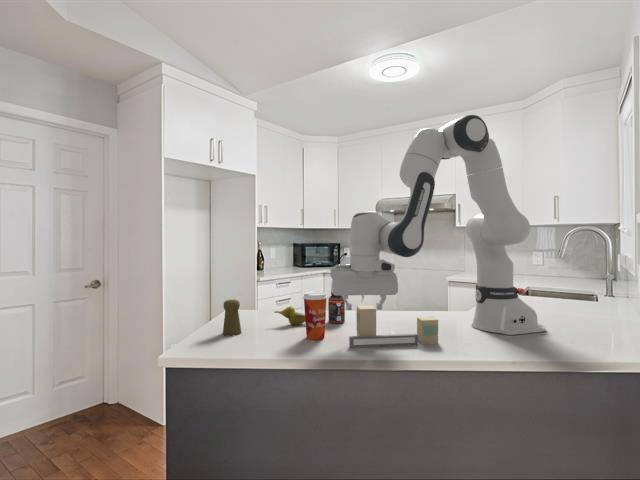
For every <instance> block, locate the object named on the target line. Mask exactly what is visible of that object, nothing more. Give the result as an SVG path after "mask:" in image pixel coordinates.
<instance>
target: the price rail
mask: <svg viewBox="0 0 640 480" xmlns="http://www.w3.org/2000/svg"><path fill="white" fill-rule="evenodd" d="M348 338H349V339H348V341H349V348H350V349H353V348H354V349H355V348H357V349H358V348H378V347H379V346H380V347H381V346H385V347H406V346H405V345H411V346H418V345H419V341H418V335H417V333H403V334H402V333H401V334H378V335H377V334H376V335H370V336H357V335H352V336H351V335H350V336H349V337H348ZM380 347H379V348H380Z"/></svg>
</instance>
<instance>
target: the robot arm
mask: <svg viewBox="0 0 640 480" xmlns="http://www.w3.org/2000/svg"><path fill="white" fill-rule="evenodd" d="M457 157H461V159H462V160H463V162H464V164H465V173H466V177H467V184H468V189H469V192H470V193H469V194H470V197H471V200H473V201H474V202H475V203H476V205H477V206H478V208H479V210H480V213H478V214H475V215H473V216H471V217H470V218H469V219H468V220H467V222H466V225H465V233H466V235H467V237H468V239H470V241H471V245H472V247H473V250H474V255H475V259H476V285H475V301H476V302H475V310H474V316H473V318H472V322H471V326H472V328H475V329H477V330H480V331H484V332H485V331H486V332H489V333H491V332H492V333H497V334H498V333H499V334H502V335H506V336H507V335H508V336H514V335H524V334H532V333H541V332H546V331H547V328H546V326H544V325H542V324H541V323H539V321H538V314H537V312H536V310H535V309H534V308H532V307H531V306H530V305H528V304H527V303H526V302H525V301H523V300H522V299H521V298H520V297H519V295H522V296H524V295H525V293H526V290H525V289H524V288H520V287H515V286H514V263H513V261H512V259H511V258H510V257H509V255H508V253H507V250H506V248H505V246H512V245H517V244H521V243H523V242H525V241H526V239H527V238H528V237H529V235H530V232H531V231H530V230H531V224H530V221H529V219H528V218H527V217H526V216H525V215H524V214H522V213H521V212H520V211H519V210H518V208H517V206H516V205H515V203H514V201H513V199H512V198H511V196H510V193H509V190H508V187H507V183H506V177H505V174H504V172H505V171H504V167H503V163H502V158H501V156H500V153H499V149H498V147H497V145H496V142H495V141H494V139H493V138H490V133H489V129H488V126H487V125H486V122H485V121H484V120H483V118H482V117H480V116H479V115H476V114H468V115H463V116H461V117H459V118H456V119H455V120H451V121H450V122H448V123H446V124H445V125H444V126H442V127H440V128H438V129H436V128H432V127H425V128H422V129H419V131H418V132H417V133H416V134H415V136H414V137H413V139H412V141H410V144H409V145H408V148H407V149H406V152H405V155H404V157H403V159H402V162H401V164H400V169H399V178H400V180H401V181H402V183H403V185H404V186H405V187H407V188H409V190H410V195H409V197H408V198H409V199H408V202H407V206H406V209H405V211H404V215H403V217H402V219H401V220H399V221H398V222H397V221H396V222H395V221H392V220H389V219H387V218H385V217H383V216H382V215H381V214H379V213H378V212H377V211H376V210H368V211H362V212H358V213H356V214H354V215H353V216H352V217H351V222H350V231H349V234H350V238H349V241H350V243H351V249H350V252H349V253H350V254H349V259H350V260H349V264H335V265H334V266H332V267H331V268H330V277H331V279H332V280H331V285H330V287H331V289H330V291H331V292H332V293H333V294H334V295H335V296H343V299H344V301H345V311H352V310H353V304H352V303H351V302H348V299H349V296H379V298H380V300H379V302H376V303H375V305H376V307H375V308H376V311H377V310H379V311H381V310H383V305H384V303H385V302H386V300H387V296H394V295H397V294H398V292H399V282H398V277H397V273H395V272H394V271H395V268H396V265H395V264H394V263H392V262H389V261H386V260H385V259H380V253H381V252H383V253H386V254H392V255H397V256H400V257H403V258H410V257H411V258H412V257H413V256H415V255H417V254H418V253H419V252H420V251H421V249H422V247H423V245H424V240H425V225H426V221H427V217H428V215H429V210H430V207H431V203H432V199H433V196H434V194H435V192H434V191H435V186H436V183H435V178H436V174H437V172H438V169H439V166H440V164H441V160H449V159H451V158H457ZM331 292H330V293H331Z"/></svg>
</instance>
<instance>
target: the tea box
mask: <svg viewBox="0 0 640 480" xmlns="http://www.w3.org/2000/svg"><path fill="white" fill-rule="evenodd" d="M416 334H417V335H418V343H420V344H421V343H422V344H421V345H430V344H431V343H435V344H439V319H437V318H436V317H434V316H417V317H416ZM427 343H429V344H427Z"/></svg>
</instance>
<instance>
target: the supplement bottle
mask: <svg viewBox="0 0 640 480" xmlns="http://www.w3.org/2000/svg"><path fill="white" fill-rule="evenodd" d="M330 295H331V296H329V297H328V303H327V304H328V308H327V309H328V322H329V323H331V324H343V323H344V322H345V321H346V320H345V319H346V303H345V301H344V299H343V295H342V296H335V295H334V294H333V293H332V292H330Z"/></svg>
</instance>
